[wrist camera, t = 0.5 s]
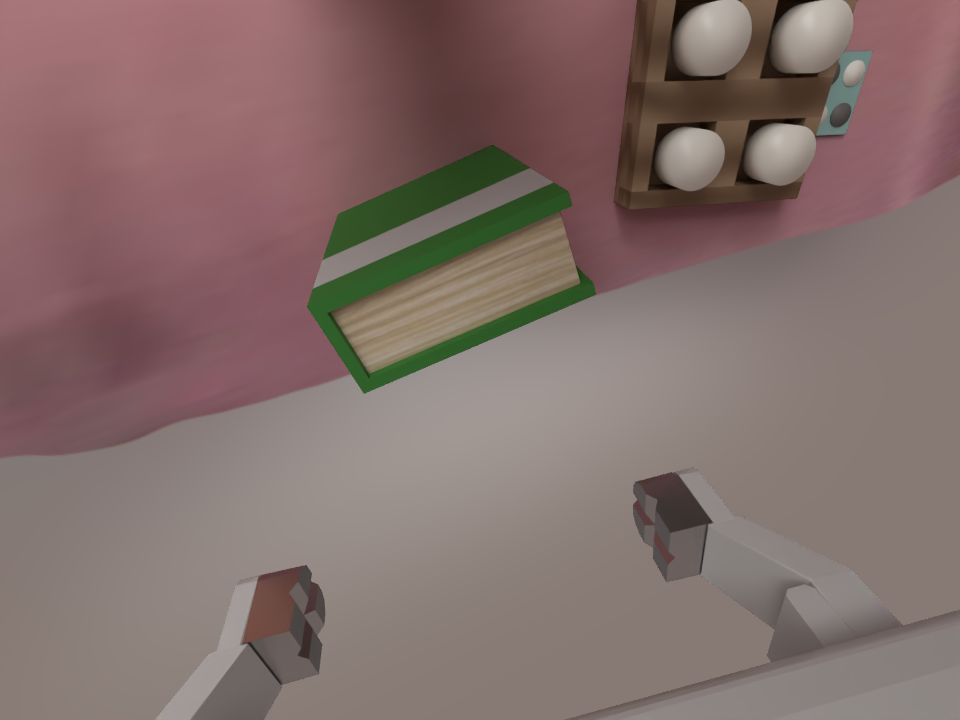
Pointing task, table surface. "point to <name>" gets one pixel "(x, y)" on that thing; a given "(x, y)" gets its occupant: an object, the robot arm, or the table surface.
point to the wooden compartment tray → (709, 106)
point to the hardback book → (444, 266)
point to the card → (844, 92)
